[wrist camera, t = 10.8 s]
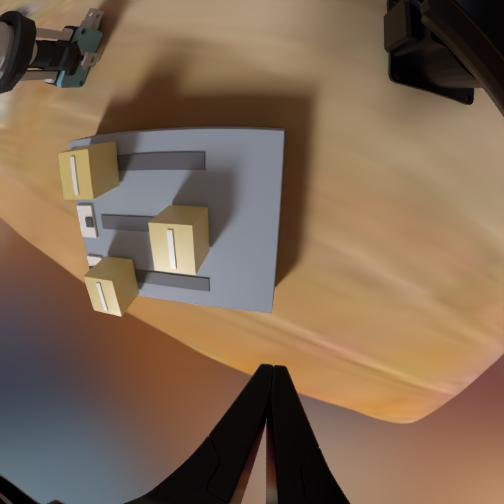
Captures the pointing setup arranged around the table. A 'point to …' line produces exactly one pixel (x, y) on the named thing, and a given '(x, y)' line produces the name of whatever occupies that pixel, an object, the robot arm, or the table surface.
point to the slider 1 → (89, 170)
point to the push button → (47, 51)
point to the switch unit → (194, 194)
